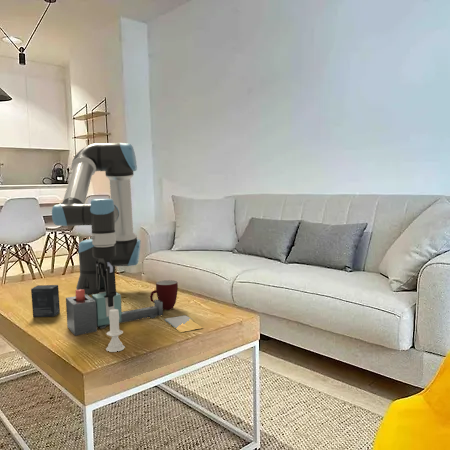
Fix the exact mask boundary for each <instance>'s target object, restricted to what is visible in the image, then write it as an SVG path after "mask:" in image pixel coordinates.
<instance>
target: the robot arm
mask: <svg viewBox="0 0 450 450" xmlns="http://www.w3.org/2000/svg"><path fill="white" fill-rule="evenodd" d="M71 170H72V171H71V174H70V177H69V180H68V184H67V187H66V191H65V194H64V197H63V200H62V203H59V204H55V205H53V206H52V209H51V220H52V223H53V224H54V226H56V227H57V226H58V227H59V226H60V227H68V226H69V227H71V226H74V227H76V226H78V227H79V226H91V236H90V238H89V239H88V238H87V239H84V240H82V241H80V242H79V243H78V251H77V253H78V261H79V264H78V265H79V276H78V280H77V285H76V289H75V290H79V289H84V290H85V295H93V294H100V293H106V296H104V298H105V305H106V317H108V316H109V311H110V310H112V309H114V296H116V292H117V286H116V285H117V284H116V283H117V282H116V267H132V266H133V267H134V266H136V265H138V263H139V261H140V260H139V259H140V252H141V240H140V239H138V237H137V236H138V235H137V234H136V233H135V232H134V227H133V224H134V223H133V207H132V191H131V190H132V187H131V179H132V177H133V176H134V172H136V171H137V170H138V167H137V158H136V154H135V149H134V146H133V144H131V143H128V142H126V143H125V142H107V143H103V142H102V143H100V142H99V143H98V142H95V143H90V144H89V145H86V146H85V147H82V149H80V150H79V151H78V152H77V153H76V154H75V156H74V157H73V160H72V161H71ZM96 172H105V173H104V174H105V177H106V178H107V179H108V180H109V189H110V198H94V199H91V200H90V203H86V199H87V195H88V192H89V188H90V184H91V181H92V176H93V175H95V173H96Z"/></svg>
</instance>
